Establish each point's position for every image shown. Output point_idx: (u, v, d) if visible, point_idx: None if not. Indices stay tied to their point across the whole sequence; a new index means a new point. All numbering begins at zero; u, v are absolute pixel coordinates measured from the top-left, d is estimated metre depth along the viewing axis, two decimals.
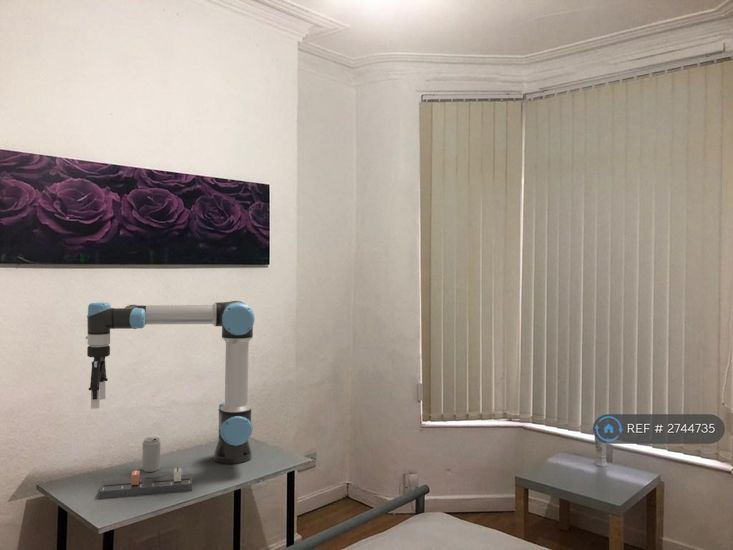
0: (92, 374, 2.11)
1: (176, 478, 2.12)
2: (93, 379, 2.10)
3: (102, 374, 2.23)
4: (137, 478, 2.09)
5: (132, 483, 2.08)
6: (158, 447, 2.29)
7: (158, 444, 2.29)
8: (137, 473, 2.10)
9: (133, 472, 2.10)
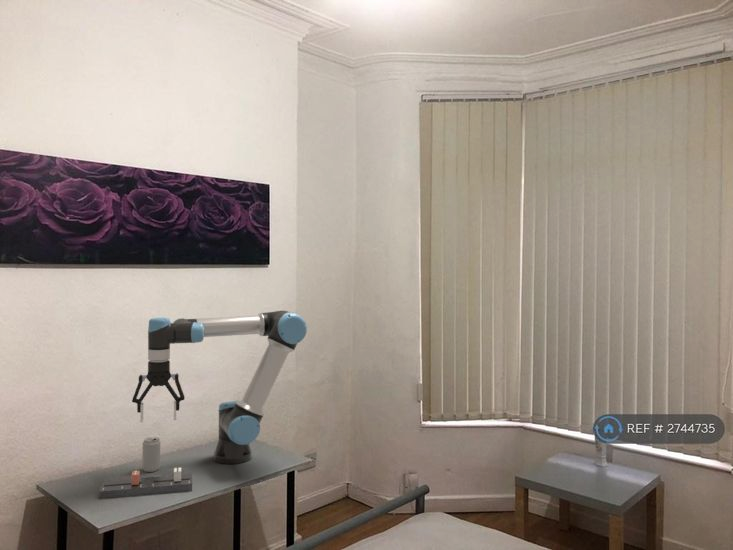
0: None
1: (176, 478, 2.12)
2: (135, 392, 2.18)
3: (170, 392, 2.21)
4: (137, 478, 2.09)
5: (132, 483, 2.08)
6: (158, 447, 2.29)
7: (158, 444, 2.29)
8: (137, 473, 2.10)
9: (133, 472, 2.10)
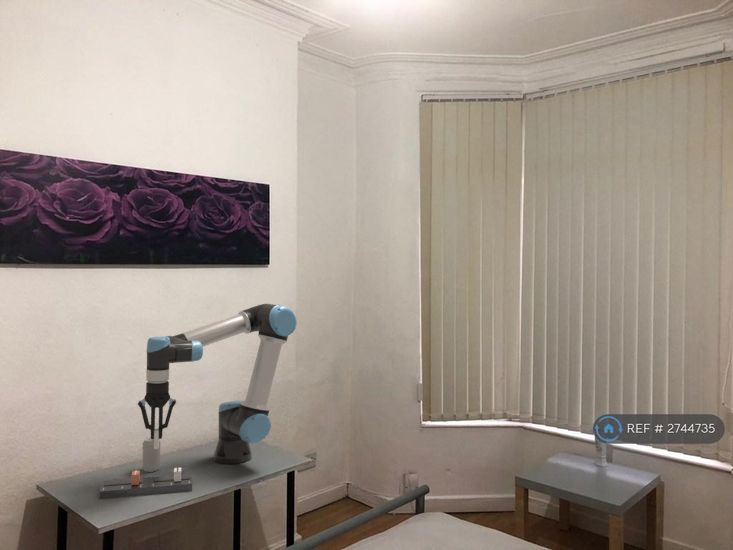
0: None
1: (176, 478, 2.12)
2: None
3: None
4: (137, 478, 2.09)
5: (132, 483, 2.08)
6: None
7: None
8: (137, 473, 2.10)
9: (133, 472, 2.10)
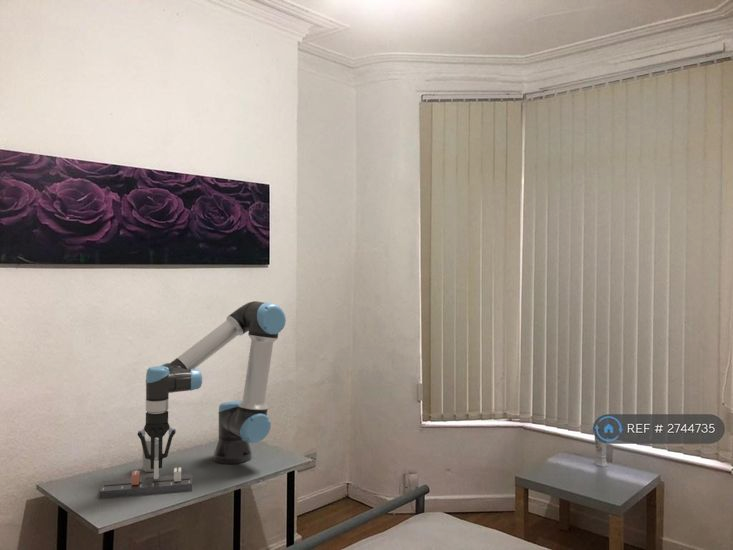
0: None
1: (176, 478, 2.12)
2: None
3: None
4: (137, 478, 2.09)
5: (132, 483, 2.08)
6: (158, 447, 2.29)
7: (158, 444, 2.29)
8: (137, 473, 2.10)
9: (133, 472, 2.10)
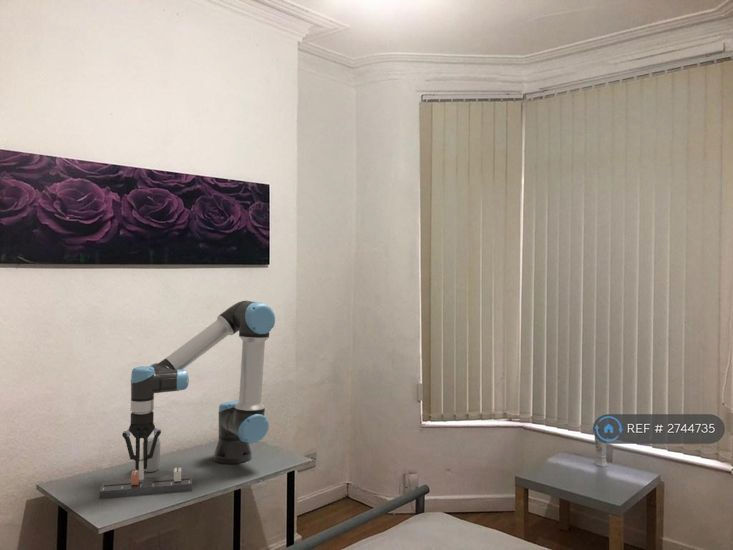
0: None
1: (176, 478, 2.12)
2: None
3: None
4: (137, 478, 2.09)
5: (132, 483, 2.08)
6: (158, 447, 2.29)
7: (158, 444, 2.29)
8: (137, 473, 2.10)
9: (133, 472, 2.10)
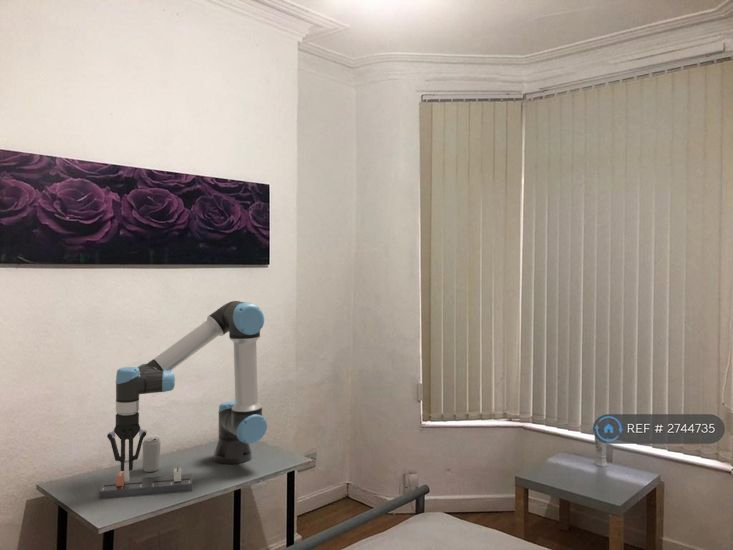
0: None
1: (176, 478, 2.12)
2: None
3: None
4: (122, 479, 2.07)
5: (117, 484, 2.07)
6: (158, 447, 2.29)
7: (158, 444, 2.29)
8: (122, 474, 2.08)
9: (118, 473, 2.09)
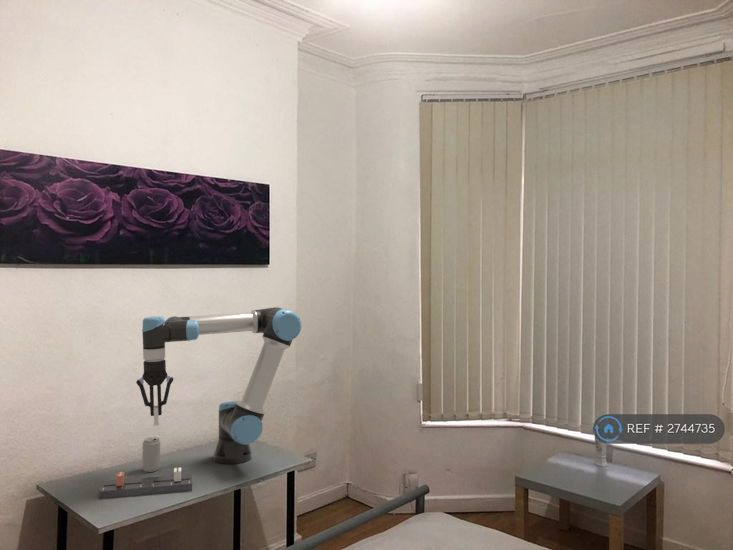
0: None
1: (176, 478, 2.12)
2: None
3: (157, 394, 2.18)
4: (122, 479, 2.07)
5: (117, 484, 2.07)
6: (158, 447, 2.29)
7: (158, 444, 2.29)
8: (122, 474, 2.08)
9: (118, 473, 2.09)
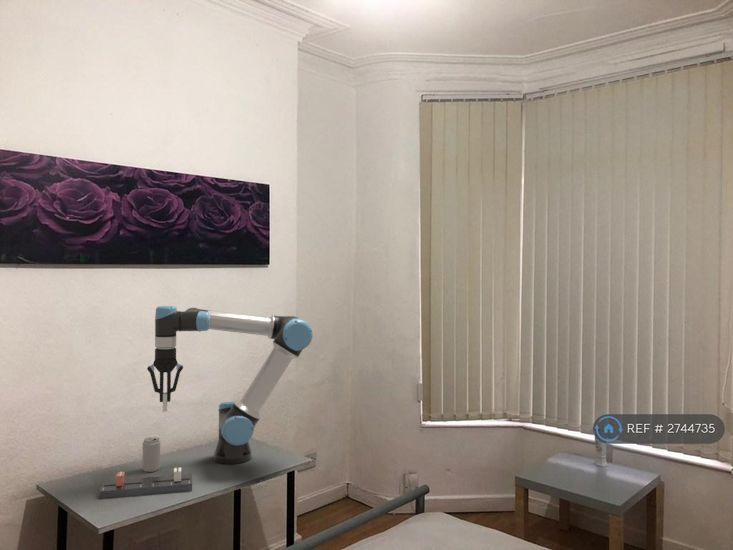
0: None
1: (176, 478, 2.12)
2: None
3: (167, 381, 2.24)
4: (122, 479, 2.07)
5: (117, 484, 2.07)
6: (158, 447, 2.29)
7: (158, 444, 2.29)
8: (122, 474, 2.08)
9: (118, 473, 2.09)
